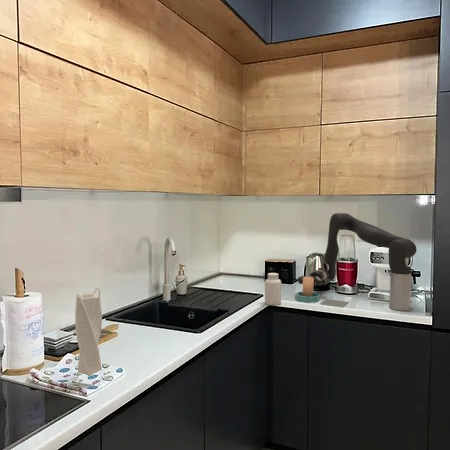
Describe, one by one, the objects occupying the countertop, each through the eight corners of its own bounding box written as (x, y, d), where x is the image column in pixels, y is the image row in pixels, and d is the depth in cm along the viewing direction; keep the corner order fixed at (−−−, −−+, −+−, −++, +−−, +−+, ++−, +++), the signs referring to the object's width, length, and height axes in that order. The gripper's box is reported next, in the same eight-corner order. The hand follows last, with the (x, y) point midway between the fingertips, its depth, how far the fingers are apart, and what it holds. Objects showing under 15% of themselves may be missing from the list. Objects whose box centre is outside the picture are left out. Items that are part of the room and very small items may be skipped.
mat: (349, 303, 217) (349, 301, 217) (343, 308, 207) (343, 307, 207) (326, 300, 223) (326, 298, 223) (319, 305, 213) (319, 304, 213)
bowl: (322, 299, 224) (322, 293, 224) (314, 304, 214) (315, 298, 214) (300, 296, 230) (300, 290, 230) (292, 301, 220) (292, 295, 220)
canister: (314, 298, 223) (315, 277, 222) (310, 300, 218) (311, 279, 217) (304, 297, 226) (305, 276, 225) (300, 299, 221) (301, 277, 220)
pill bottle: (261, 303, 216) (261, 273, 215) (271, 300, 222) (272, 271, 221) (274, 306, 211) (274, 275, 210) (284, 303, 216) (284, 273, 215)
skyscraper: (110, 377, 131) (108, 285, 129) (95, 388, 123) (93, 291, 121) (85, 374, 133) (83, 284, 131) (69, 385, 125) (67, 289, 123)
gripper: (305, 269, 239) (295, 274, 225) (331, 271, 232) (322, 277, 218) (305, 282, 240) (294, 288, 226) (330, 285, 233) (321, 291, 219)
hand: (308, 282), depth 222 cm, fingers open, 8 cm apart
